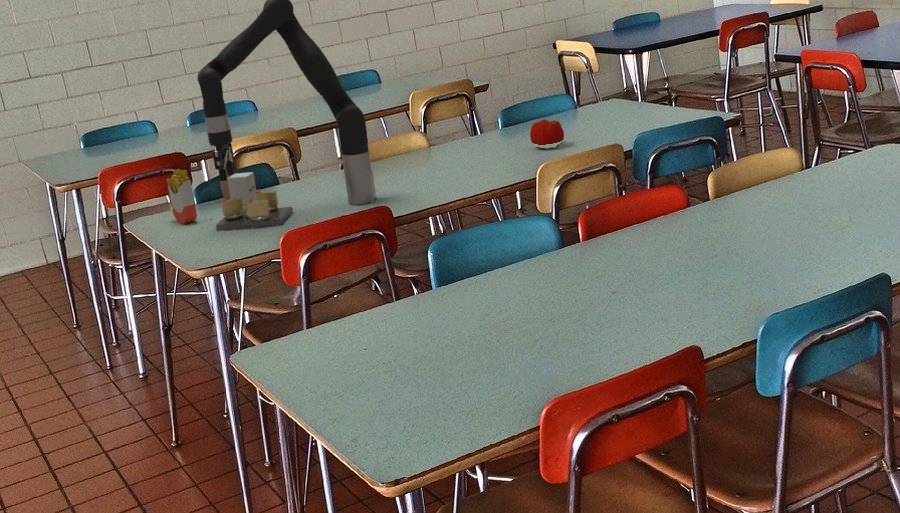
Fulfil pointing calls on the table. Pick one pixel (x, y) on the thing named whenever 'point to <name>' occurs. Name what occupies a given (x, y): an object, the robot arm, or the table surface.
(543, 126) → the tomato
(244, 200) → the supplement box
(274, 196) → the knob
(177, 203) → the french fries container
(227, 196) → the handle
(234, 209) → the knob
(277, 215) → the base plate
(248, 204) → the knob
